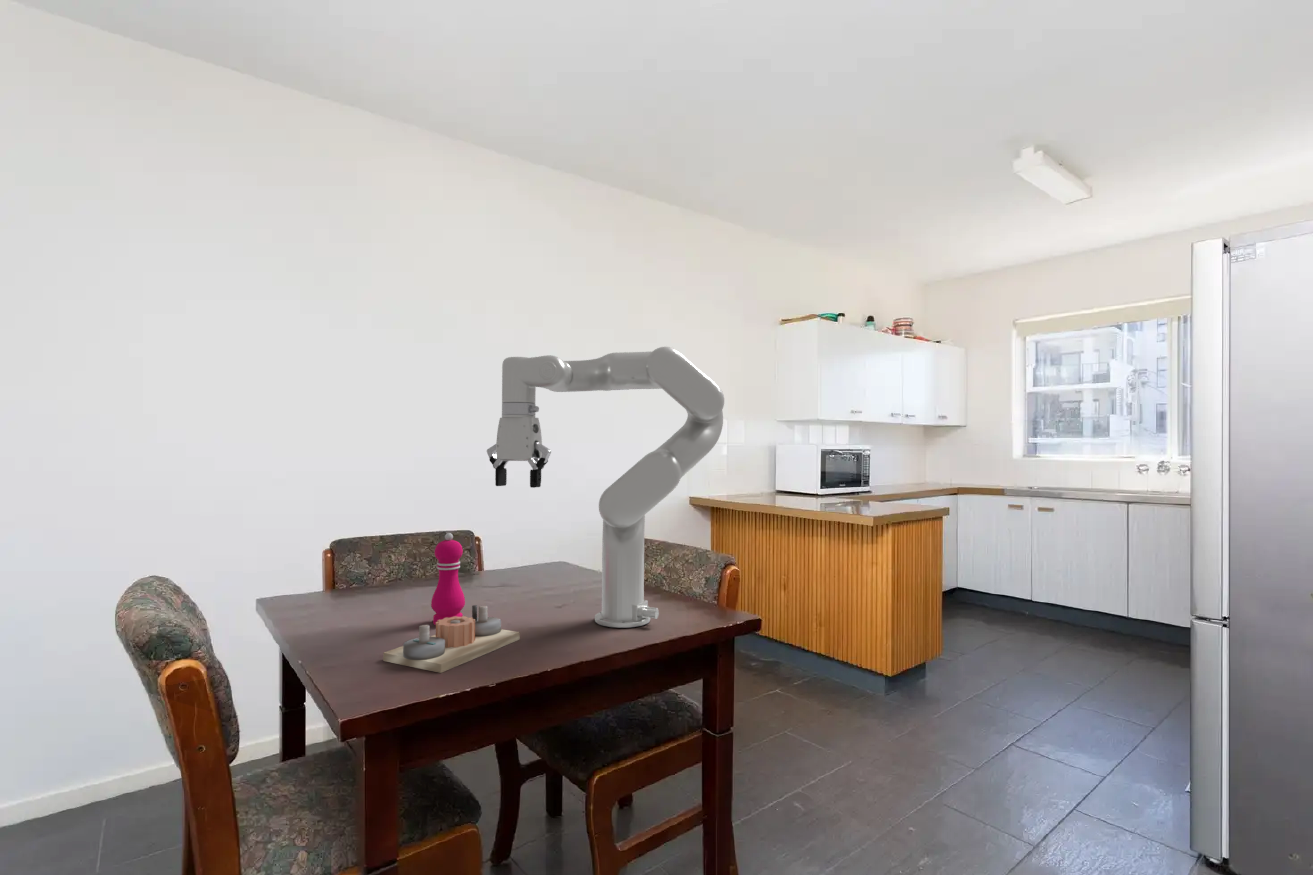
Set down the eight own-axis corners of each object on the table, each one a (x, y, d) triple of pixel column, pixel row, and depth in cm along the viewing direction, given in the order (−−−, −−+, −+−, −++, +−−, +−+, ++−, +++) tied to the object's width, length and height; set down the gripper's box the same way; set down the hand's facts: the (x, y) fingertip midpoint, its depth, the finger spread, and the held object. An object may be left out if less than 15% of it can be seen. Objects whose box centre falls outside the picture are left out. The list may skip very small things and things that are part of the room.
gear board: (521, 638, 134) (521, 606, 135) (438, 674, 114) (439, 636, 114) (468, 629, 141) (468, 599, 141) (380, 661, 120) (381, 626, 120)
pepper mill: (454, 628, 142) (455, 535, 142) (424, 626, 143) (425, 534, 144) (470, 619, 149) (471, 531, 149) (441, 617, 150) (442, 530, 151)
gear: (482, 639, 129) (482, 618, 129) (456, 649, 122) (456, 628, 122) (454, 634, 132) (454, 614, 132) (427, 644, 125) (427, 623, 125)
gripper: (559, 411, 149) (558, 486, 149) (499, 412, 157) (498, 484, 157) (540, 410, 142) (539, 488, 142) (477, 411, 150) (477, 486, 150)
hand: (517, 486), depth 149 cm, fingers open, 9 cm apart
